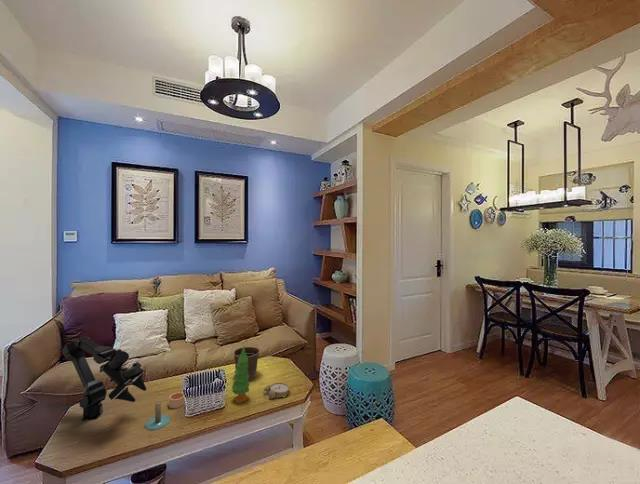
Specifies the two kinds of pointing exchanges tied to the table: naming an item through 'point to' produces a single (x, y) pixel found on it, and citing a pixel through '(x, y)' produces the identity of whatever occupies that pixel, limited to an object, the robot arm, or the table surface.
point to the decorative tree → (241, 378)
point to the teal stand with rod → (157, 419)
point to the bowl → (176, 400)
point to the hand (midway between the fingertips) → (140, 395)
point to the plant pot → (249, 360)
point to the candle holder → (276, 390)
